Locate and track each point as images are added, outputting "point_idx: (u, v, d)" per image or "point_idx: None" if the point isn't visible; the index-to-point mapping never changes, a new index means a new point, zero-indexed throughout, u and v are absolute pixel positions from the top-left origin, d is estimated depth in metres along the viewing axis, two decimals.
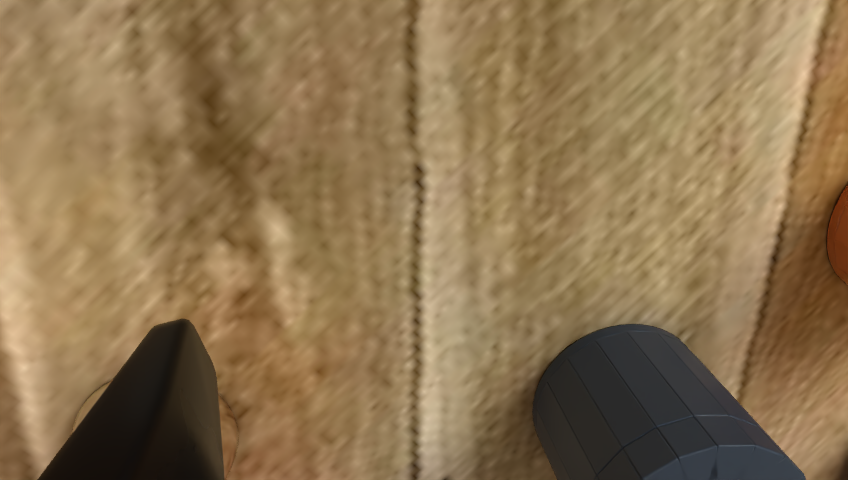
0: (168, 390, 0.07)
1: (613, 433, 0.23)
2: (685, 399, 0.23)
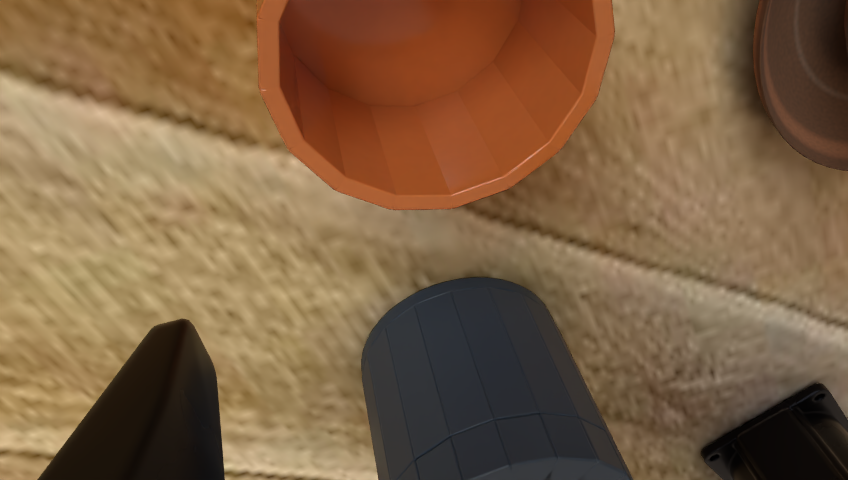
0: (167, 390, 0.07)
1: None
2: (389, 457, 0.21)
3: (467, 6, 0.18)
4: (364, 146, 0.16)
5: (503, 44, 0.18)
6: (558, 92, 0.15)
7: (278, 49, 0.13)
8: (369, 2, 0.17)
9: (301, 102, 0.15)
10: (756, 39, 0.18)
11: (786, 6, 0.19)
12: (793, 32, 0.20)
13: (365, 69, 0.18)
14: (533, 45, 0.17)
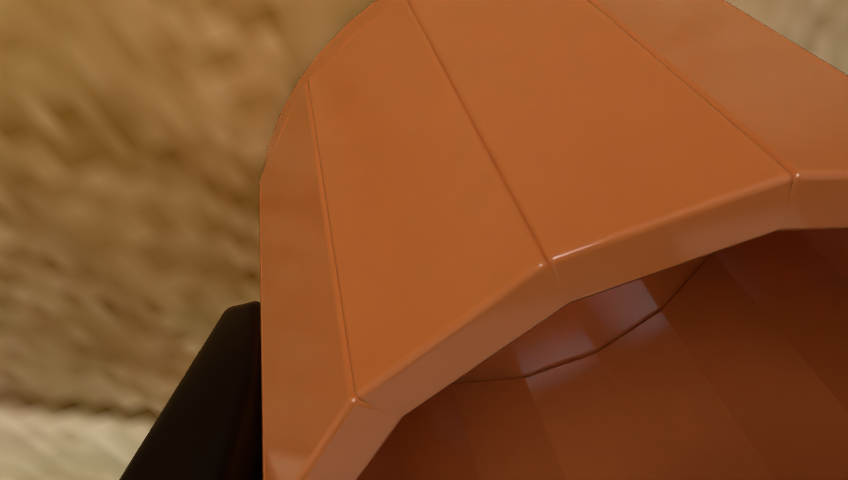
0: (253, 369, 0.07)
1: None
2: None
3: None
4: None
5: (684, 287, 0.11)
6: None
7: None
8: None
9: None
10: None
11: None
12: None
13: None
14: (765, 326, 0.09)
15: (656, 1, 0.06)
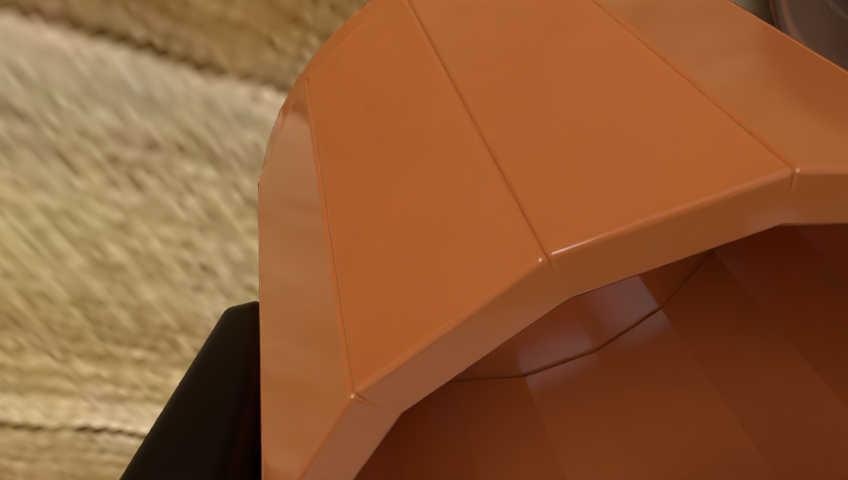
0: (253, 369, 0.07)
1: None
2: None
3: None
4: None
5: (683, 285, 0.11)
6: None
7: None
8: None
9: None
10: None
11: None
12: None
13: None
14: (765, 324, 0.09)
15: None
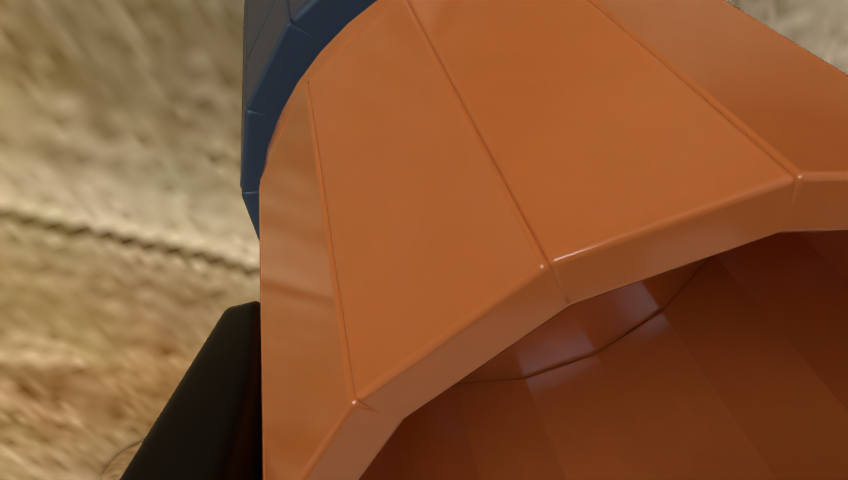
0: (253, 369, 0.07)
1: None
2: (250, 30, 0.11)
3: None
4: None
5: (683, 287, 0.11)
6: None
7: None
8: None
9: None
10: None
11: None
12: None
13: None
14: (765, 327, 0.09)
15: (657, 1, 0.06)
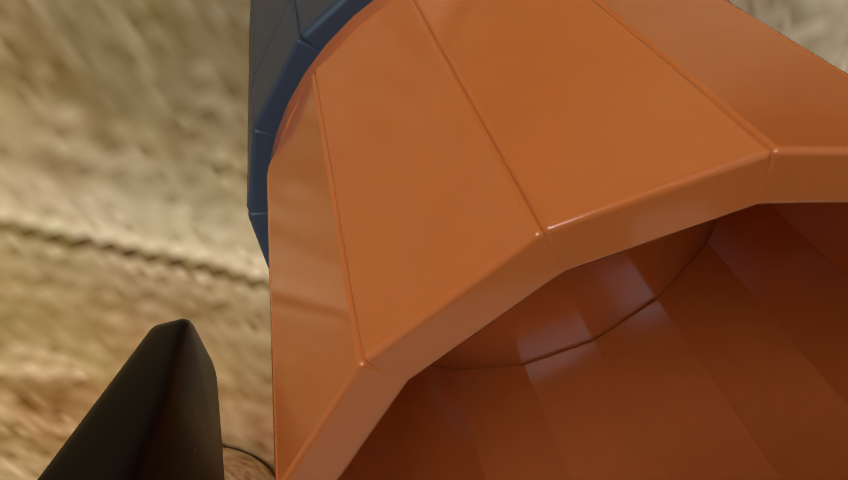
0: (168, 390, 0.07)
1: None
2: (257, 44, 0.10)
3: None
4: None
5: (679, 276, 0.11)
6: None
7: None
8: None
9: (354, 471, 0.08)
10: None
11: None
12: None
13: None
14: (757, 312, 0.10)
15: None
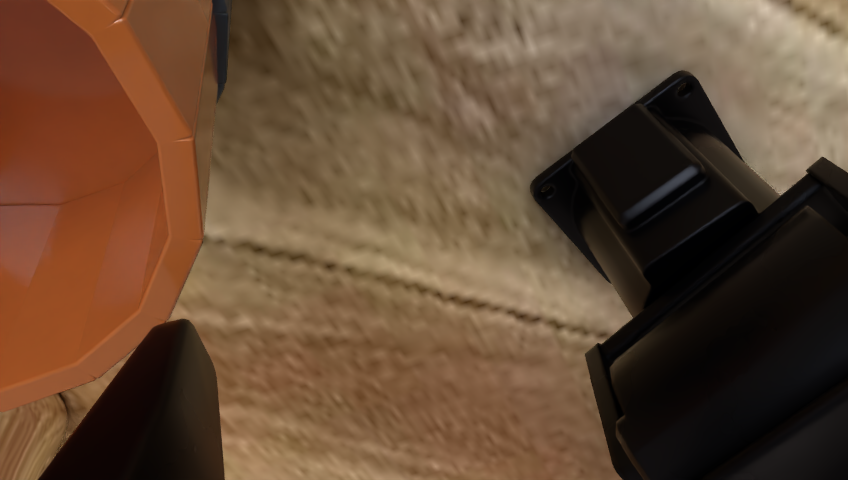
0: (168, 390, 0.07)
1: None
2: None
3: (101, 58, 0.11)
4: None
5: None
6: (165, 220, 0.09)
7: None
8: None
9: None
10: None
11: None
12: None
13: None
14: None
15: None
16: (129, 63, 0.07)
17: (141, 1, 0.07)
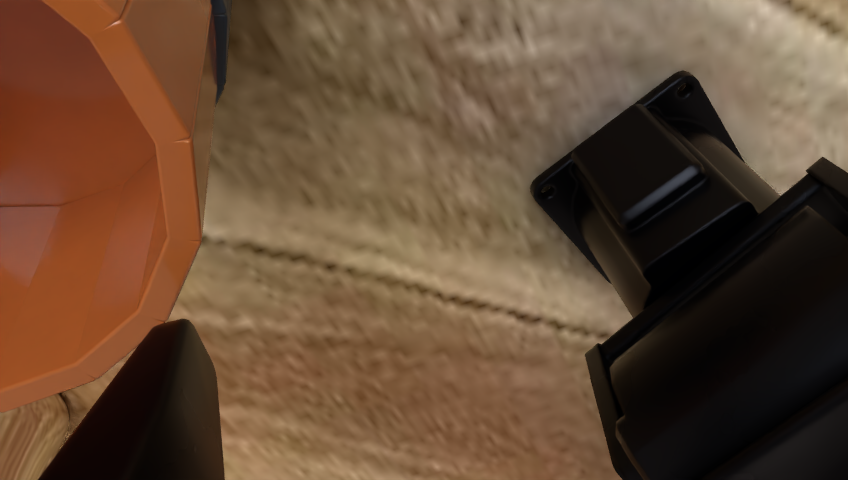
0: (168, 390, 0.07)
1: None
2: None
3: (100, 60, 0.11)
4: None
5: None
6: (163, 221, 0.09)
7: None
8: None
9: None
10: None
11: None
12: None
13: None
14: None
15: None
16: (127, 65, 0.07)
17: (139, 3, 0.07)
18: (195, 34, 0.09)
